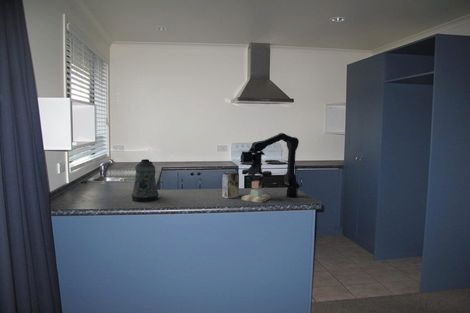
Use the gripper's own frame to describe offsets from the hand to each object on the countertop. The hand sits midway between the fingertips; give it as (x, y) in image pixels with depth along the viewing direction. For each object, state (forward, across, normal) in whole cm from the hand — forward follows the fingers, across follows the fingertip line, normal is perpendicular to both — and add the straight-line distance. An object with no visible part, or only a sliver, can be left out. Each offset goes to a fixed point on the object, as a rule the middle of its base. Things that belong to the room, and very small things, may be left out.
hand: (256, 186), depth 216 cm
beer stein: (+9, -60, -38) cm, 72 cm away
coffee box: (+9, -17, -4) cm, 20 cm away
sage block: (+6, 0, 0) cm, 7 cm away
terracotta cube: (+1, 0, 0) cm, 1 cm away
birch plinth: (+8, 0, 0) cm, 9 cm away
